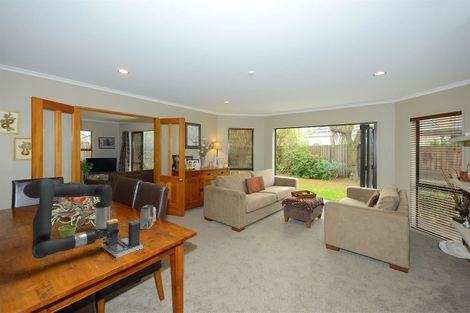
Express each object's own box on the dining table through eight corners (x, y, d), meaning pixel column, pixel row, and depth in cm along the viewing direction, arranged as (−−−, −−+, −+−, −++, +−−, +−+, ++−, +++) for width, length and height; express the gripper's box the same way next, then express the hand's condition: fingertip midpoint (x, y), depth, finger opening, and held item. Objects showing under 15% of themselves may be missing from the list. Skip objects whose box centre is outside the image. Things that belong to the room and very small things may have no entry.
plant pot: (80, 239, 134) (80, 225, 133) (64, 245, 125) (64, 231, 124) (70, 236, 137) (70, 223, 136) (54, 242, 128) (54, 228, 128)
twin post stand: (101, 246, 124) (102, 220, 124) (127, 238, 136) (127, 214, 135) (116, 258, 112) (116, 228, 111) (142, 248, 124) (143, 221, 123)
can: (147, 220, 172) (147, 206, 172) (156, 220, 173) (157, 206, 172) (144, 223, 165) (144, 208, 164) (154, 223, 165) (154, 208, 165)
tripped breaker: (106, 244, 122) (106, 220, 122) (115, 241, 127) (115, 218, 126) (108, 246, 120) (108, 222, 120) (117, 243, 124) (118, 220, 124)
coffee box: (145, 224, 162) (145, 204, 162) (153, 225, 162) (153, 204, 162) (139, 229, 153) (140, 207, 153) (148, 229, 153) (148, 208, 152)
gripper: (88, 235, 107) (122, 226, 121) (79, 228, 116) (112, 221, 130) (88, 249, 108) (122, 239, 121) (79, 241, 116) (112, 232, 130)
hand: (117, 229), depth 125 cm, fingers closed on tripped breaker, 3 cm apart
